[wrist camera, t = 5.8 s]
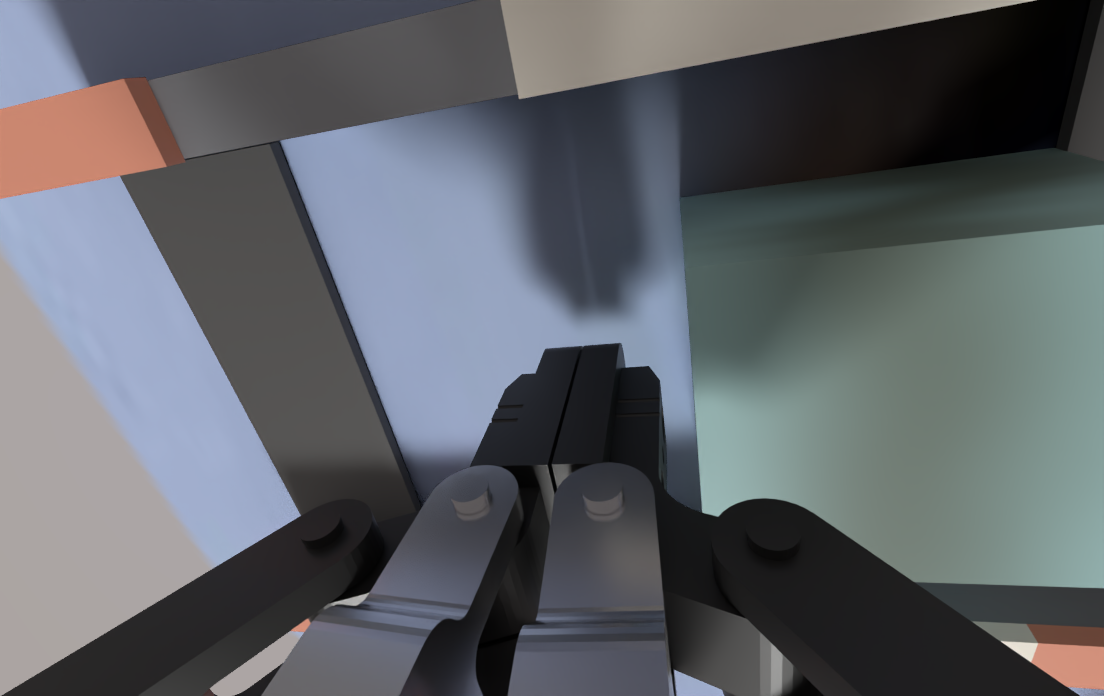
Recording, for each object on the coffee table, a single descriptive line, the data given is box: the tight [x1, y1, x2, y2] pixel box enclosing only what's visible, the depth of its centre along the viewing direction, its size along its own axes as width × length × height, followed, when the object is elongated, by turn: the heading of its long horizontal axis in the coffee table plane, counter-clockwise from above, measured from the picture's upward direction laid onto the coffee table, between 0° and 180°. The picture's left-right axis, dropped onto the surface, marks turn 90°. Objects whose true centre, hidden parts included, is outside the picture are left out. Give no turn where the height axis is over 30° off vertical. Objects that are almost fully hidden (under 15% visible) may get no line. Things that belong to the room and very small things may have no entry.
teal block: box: [680, 148, 1104, 588], centre depth 10 cm, size 6×6×4 cm
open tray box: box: [0, 0, 1104, 689], centre depth 10 cm, size 25×14×3 cm, turn 100°
